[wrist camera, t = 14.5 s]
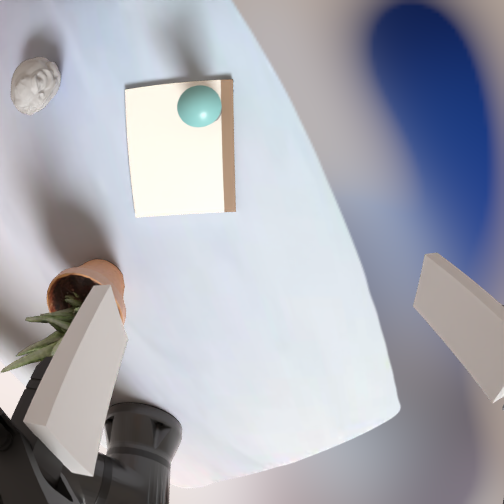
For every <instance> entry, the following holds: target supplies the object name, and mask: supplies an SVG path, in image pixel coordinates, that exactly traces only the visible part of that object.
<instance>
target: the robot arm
mask: <svg viewBox="0 0 504 504" xmlns="http://www.w3.org/2000/svg"><path fill="white" fill-rule="evenodd" d="M413 307H414V308H415V309H416V310H417V311H418V312H419V313H420V315H421V316H422V317H423V318H424V319H425V320H426V321H427V322H428V324H429V325H430V326H431V327H432V328H433V329H434V331H435V332H436V333H437V334H438V335H439V336H440V338H441V339H442V340H443V341H444V342H445V343H446V345H447V346H448V347H449V348H450V349H451V351H452V352H453V353H454V354H455V355H456V357H457V358H458V359H459V361H460V362H461V363H462V364H463V365H464V367H465V368H466V369H467V370H468V372H469V373H470V374H471V376H472V377H473V378H474V380H475V381H476V382H477V383H478V385H479V386H480V387H481V389H482V390H483V391H484V393H485V394H486V395H487V397H488V398H489V399H490V401H491V402H492V403H493V402H495V401H497V400H498V399H500V398H502V397H503V396H504V305H502V304H500V303H499V302H498V301H497V300H496V299H494V298H493V297H492V296H491V295H490V294H489V293H487V292H486V291H485V290H484V289H483V288H481V287H480V286H479V285H478V284H477V283H475V282H474V281H473V280H472V279H470V278H469V277H468V276H467V275H465V274H464V273H463V272H462V271H460V270H459V269H458V268H457V267H455V266H454V265H453V264H451V263H450V262H449V261H447V260H446V259H445V258H443V257H442V256H441V255H440V254H438V253H431V254H425V256H424V261H423V266H422V271H421V275H420V280H419V284H418V288H417V293H416V297H415V301H414V304H413ZM127 342H128V337H127V334H126V332H125V329H124V326H123V323H122V320H121V317H120V314H119V311H118V307H117V304H116V301H115V298H114V294H113V291H112V288H111V285H96V286H93V288H92V289H91V291H90V292H89V294H88V296H87V297H86V299H85V301H84V302H83V304H82V306H81V307H80V309H79V311H78V312H77V314H76V316H75V318H74V319H73V321H72V323H71V325H70V326H69V328H68V330H67V332H66V333H65V335H64V337H63V339H62V341H61V343H60V344H59V346H58V348H57V350H56V352H55V354H54V356H53V357H45V358H44V359H43V360H42V361H41V362H40V363H39V364H38V365H37V366H36V368H35V370H34V372H33V374H32V376H31V380H29V382H28V384H27V386H26V389H25V390H24V392H23V395H22V396H21V398H20V401H19V403H18V405H17V407H16V409H15V411H14V413H13V416H12V418H11V420H10V419H9V418H8V416H7V415H6V414H5V413H4V411H3V410H2V409H1V408H0V504H169V488H170V487H169V486H170V466H171V461H172V459H173V457H174V455H175V453H176V451H177V449H178V447H179V445H180V442H181V439H182V427H181V425H180V423H179V422H178V421H177V420H176V419H175V418H174V417H173V416H171V415H170V414H168V413H166V412H164V411H162V410H160V409H157V408H155V407H152V406H148V405H144V404H138V403H120V404H116V405H113V406H111V407H110V408H109V404H110V400H111V397H112V393H113V389H114V386H115V382H116V379H117V375H118V372H119V368H120V365H121V362H122V358H123V355H124V352H125V348H126V345H127ZM108 408H109V409H108ZM502 410H504V405H503V409H502ZM104 427H105V434H106V441H107V454H106V455H104V454H102V453H99V452H98V450H99V446H100V441H101V437H102V432H103V428H104ZM503 504H504V500H503Z"/></svg>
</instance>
